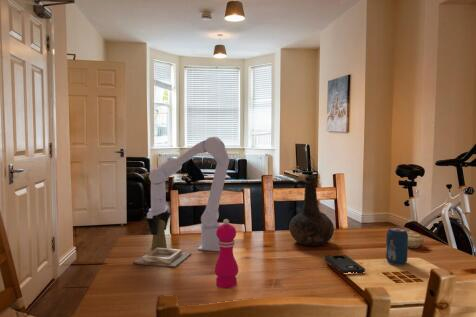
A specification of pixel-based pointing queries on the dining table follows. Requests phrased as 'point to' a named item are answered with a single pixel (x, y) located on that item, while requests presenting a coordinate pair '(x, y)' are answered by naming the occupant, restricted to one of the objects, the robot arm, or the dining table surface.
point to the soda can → (396, 246)
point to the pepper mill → (226, 256)
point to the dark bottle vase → (311, 219)
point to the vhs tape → (344, 264)
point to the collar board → (163, 257)
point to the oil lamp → (414, 239)
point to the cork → (159, 236)
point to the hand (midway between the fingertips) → (158, 232)
